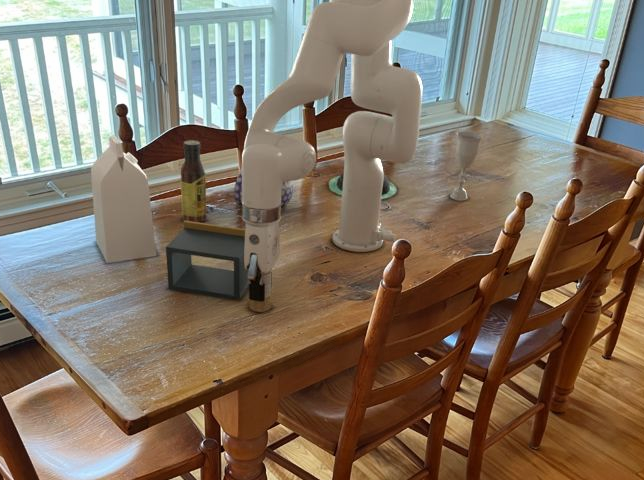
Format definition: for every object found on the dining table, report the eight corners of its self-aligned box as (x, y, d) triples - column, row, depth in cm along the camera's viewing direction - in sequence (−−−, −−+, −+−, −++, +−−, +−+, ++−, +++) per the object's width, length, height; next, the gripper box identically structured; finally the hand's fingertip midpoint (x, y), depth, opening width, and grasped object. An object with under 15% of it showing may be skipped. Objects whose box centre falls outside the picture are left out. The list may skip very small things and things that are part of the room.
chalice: (443, 198, 208) (453, 136, 198) (448, 191, 213) (459, 129, 203) (468, 203, 206) (480, 140, 195) (473, 195, 211) (485, 133, 201)
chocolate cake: (394, 201, 202) (323, 196, 204) (395, 210, 220) (330, 205, 222) (400, 146, 200) (328, 142, 203) (400, 160, 219) (334, 155, 221)
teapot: (256, 228, 184) (257, 171, 176) (212, 212, 192) (210, 156, 183) (314, 201, 201) (317, 148, 193) (272, 187, 209) (273, 135, 200)
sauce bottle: (202, 225, 185) (199, 148, 173) (178, 222, 185) (174, 145, 174) (210, 215, 190) (207, 140, 179) (187, 212, 191) (183, 137, 180)
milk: (96, 242, 174) (82, 133, 159) (143, 235, 178) (134, 129, 163) (107, 263, 165) (93, 150, 150) (156, 255, 169) (148, 145, 154)
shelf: (254, 277, 162) (254, 230, 156) (239, 300, 153) (239, 251, 147) (186, 267, 165) (184, 220, 158) (168, 289, 156) (165, 240, 149)
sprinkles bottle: (244, 307, 151) (244, 248, 143) (259, 299, 154) (260, 241, 146) (260, 315, 148) (261, 255, 141) (275, 307, 151) (277, 248, 144)
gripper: (268, 230, 132) (266, 317, 142) (290, 198, 145) (287, 278, 156) (229, 225, 133) (230, 311, 143) (255, 193, 147) (254, 273, 157)
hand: (260, 293), depth 149 cm, fingers closed on sprinkles bottle, 4 cm apart
